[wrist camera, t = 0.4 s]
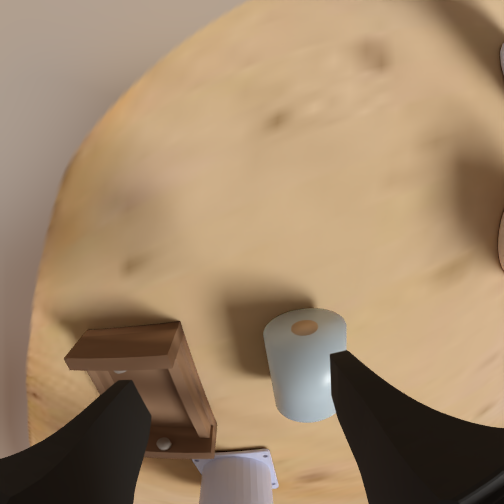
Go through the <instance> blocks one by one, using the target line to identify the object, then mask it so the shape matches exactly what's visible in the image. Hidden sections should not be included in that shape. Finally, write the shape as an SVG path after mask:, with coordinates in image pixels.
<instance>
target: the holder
mask: <svg viewBox="0 0 504 504" xmlns="http://www.w3.org/2000/svg"><path fill="white" fill-rule="evenodd" d="M64 360H65V362H66V364H67V366H68V367H69V369H70V370H84V371H87V372H88V374H89V375H90V377H91V379H92V381H93V383H94V385H95V386H96V388H97V390H98V392H99V393H100V395H101V394H102V393H104V392H105V391H106V390H107V389H108V388H109V387H111V386H112V385H113V384H114V383H115V382H117V381H118V380H132V381H133V382H134V384H135V386H136V388H137V390H138V392H139V394H140V396H141V398H142V400H143V401H144V403H145V405H146V407H147V409H148V410H149V412H150V414H151V416H152V418H151V427H150V434H149V439H148V443H147V447H146V450H145V454H144V457H149V458H166V459H214V456H215V443H216V431H217V423H216V420H215V418H214V415H213V413H212V410H211V408H210V405H209V403H208V400H207V397H206V395H205V392H204V389H203V387H202V384H201V381H200V379H199V376H198V373H197V370H196V367H195V365H194V362H193V359H192V356H191V353H190V350H189V347H188V344H187V341H186V338H185V335H184V332H183V329H182V325H181V322H180V321H179V322H171V323H162V324H153V325H143V326H133V327H122V328H110V329H97V330H87V331H86V332H85V334H84V335H83V336H82V337H81V338H80V339H79V341H78V342H77V343H76V344H75V345H74V347H73V348H72V349H71V350H70V351H69V353H68V354H67V355H66V356H65V357H64Z"/></svg>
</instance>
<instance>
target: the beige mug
mask: <svg viewBox="0 0 504 504" xmlns="http://www.w3.org/2000/svg"><path fill="white" fill-rule="evenodd" d="M498 253H499V260H500V263H501V266H502V268H503V270H504V212H503V215H502V219H501V223H500V228H499V236H498Z"/></svg>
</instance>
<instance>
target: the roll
mask: <svg viewBox="0 0 504 504" xmlns="http://www.w3.org/2000/svg"><path fill="white" fill-rule="evenodd" d="M263 337H264V342H265V348H266V353H267V359H268V364H269V370H270V375H271V381H272V386H273V391H274V397H275V402H276V406H277V409H278V410H279V412H280V413H281V414H282V415H284V416H285V417H287V418H288V419H291V420H293V421H297V422H306V423H308V422H317V421H321V420H324V419H326V418H328V417H330V416H332V415H333V414H335V413H336V410H335V407H334V403H333V400H332V396H331V374H330V354H332V353H337V352H341V351H345V350H346V322H345V320H344V319H343V318H342V317H341V316H340V315H339V314H337V313H335V312H333V311H330V310H326V309H320V308H305V309H299V310H294V311H289V312H286V313H284V314H281V315H279V316H277V317H276V318H274V319H273V320H271V321H270V322H269V323H268V324H267V325H266V327H265V329H264V332H263Z"/></svg>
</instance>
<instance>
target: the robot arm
mask: <svg viewBox="0 0 504 504" xmlns="http://www.w3.org/2000/svg"><path fill="white" fill-rule="evenodd" d="M330 374H331V396H332V400H333V403H334V407H335V410H336V414H337V417H338V420H339V422H340V425H341V427H342V429H343V432H344V434H345V436H346V439H347V441H348V443H349V446H350V448H351V450H352V453H353V455H354V457H355V460H356V462H357V465H358V467H359V470H360V473H361V476H362V480H363V483H364V487H365V491H366V494H367V498H368V502H369V504H504V428H496V427H489V426H484V425H480V424H475V423H471V422H468V421H464V420H461V419H458V418H455V417H452V416H449V415H446V414H444V413H441V412H439V411H436V410H434V409H432V408H430V407H428V406H426V405H424V404H422V403H420V402H418V401H416V400H414V399H412V398H411V397H409V396H407V395H406V394H404V393H402V392H401V391H399V390H398V389H396V388H395V387H393V386H392V385H390V384H389V383H387V382H386V381H385V380H383V379H382V378H381V377H379V376H378V375H377V374H375V373H374V372H373V371H371V370H370V369H369V368H368V367H367V366H365V365H364V364H363V363H362V362H361V361H359V360H358V359H357V358H356V357H355V356H354V355H352V354H351V353H350V352H349V351H347V350H345V351H341V352H337V353H332V354H330ZM151 418H152V416H151V414H150V412H149V410H148V409H147V407H146V405H145V403H144V401H143V400H142V398H141V396H140V394H139V392H138V390H137V388H136V386H135V384H134V382H133V381H132V380H118V381H117V382H115V383H114V384H113V385H112V386H111V387H109V388H108V389H107V390H106V391H105V392H104V393H102V394H101V395H100V396H99V397H98V398H97V399H96V400H95V401H94V402H92V403H91V404H90V405H89V406H88V407H87V408H86V409H84V410H83V411H82V412H81V413H80V414H79V415H77V416H76V417H75V418H74V419H72V420H71V421H70V422H69V423H67V424H66V425H65V426H64V427H62V428H61V429H60V430H58V431H57V432H55V433H54V434H52V435H51V436H49V437H48V438H46V439H45V440H43V441H41V442H39V443H37V444H35V445H33V446H32V447H30V448H28V449H26V450H24V451H21V452H19V453H16V454H14V455H11V456H8V457H5V458H2V459H0V504H133V500H134V492H135V487H136V482H137V478H138V475H139V471H140V468H141V464H142V461H143V457H144V454H145V450H146V447H147V443H148V439H149V434H150V427H151ZM192 461H193V463H194V464H195V466H196V467H197V469H198V470H199V472H200V473H201V475H202V481H201V490H200V500H199V504H273V496H272V489H274V488H278V487H279V484H278V481H277V477H276V473H275V469H274V466H273V462H272V458H271V454H270V450H269V449H256V450H247V451H235V452H219V453H215V456H214V459H192Z"/></svg>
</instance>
